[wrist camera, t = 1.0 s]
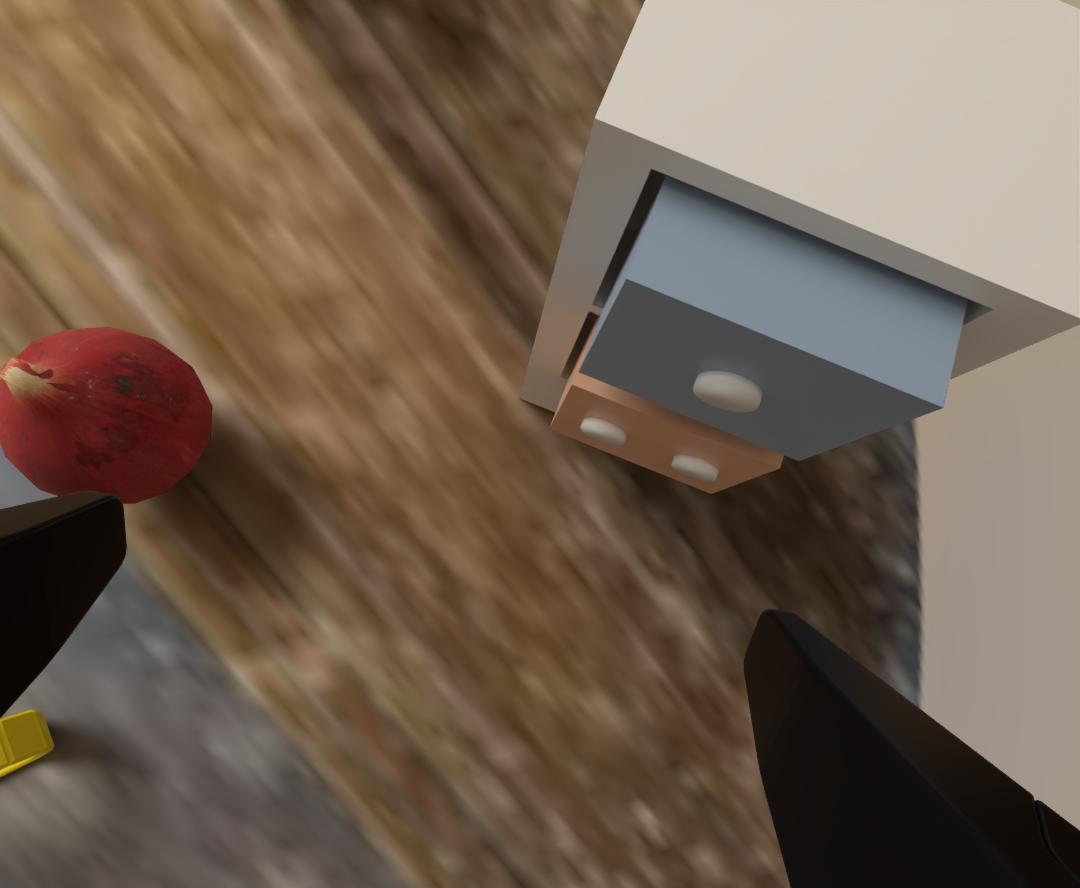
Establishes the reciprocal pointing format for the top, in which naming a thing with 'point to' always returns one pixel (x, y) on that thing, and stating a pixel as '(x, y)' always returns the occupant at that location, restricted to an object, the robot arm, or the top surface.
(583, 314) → the box
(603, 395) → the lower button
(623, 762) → the top surface
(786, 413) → the upper drawer
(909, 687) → the top surface
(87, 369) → the onion
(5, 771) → the watch
